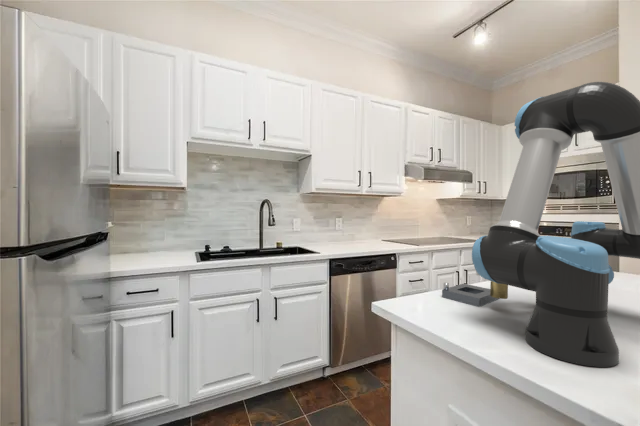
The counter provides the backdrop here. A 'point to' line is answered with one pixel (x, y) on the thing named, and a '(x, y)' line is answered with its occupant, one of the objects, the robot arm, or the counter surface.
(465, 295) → the jig
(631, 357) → the counter surface
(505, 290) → the bushing
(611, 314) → the counter surface
